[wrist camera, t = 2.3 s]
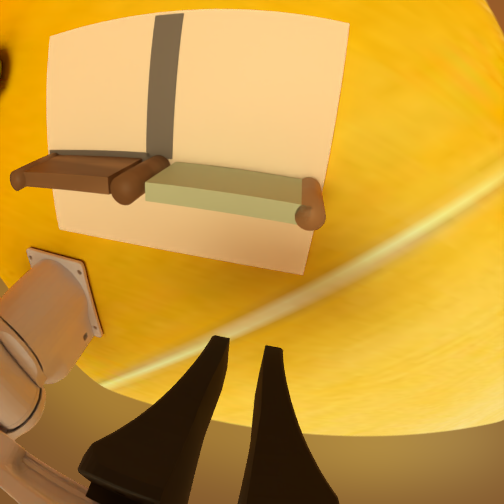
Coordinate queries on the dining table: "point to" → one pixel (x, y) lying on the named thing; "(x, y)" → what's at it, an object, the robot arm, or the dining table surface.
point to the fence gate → (240, 193)
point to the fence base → (91, 174)
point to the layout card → (197, 119)
